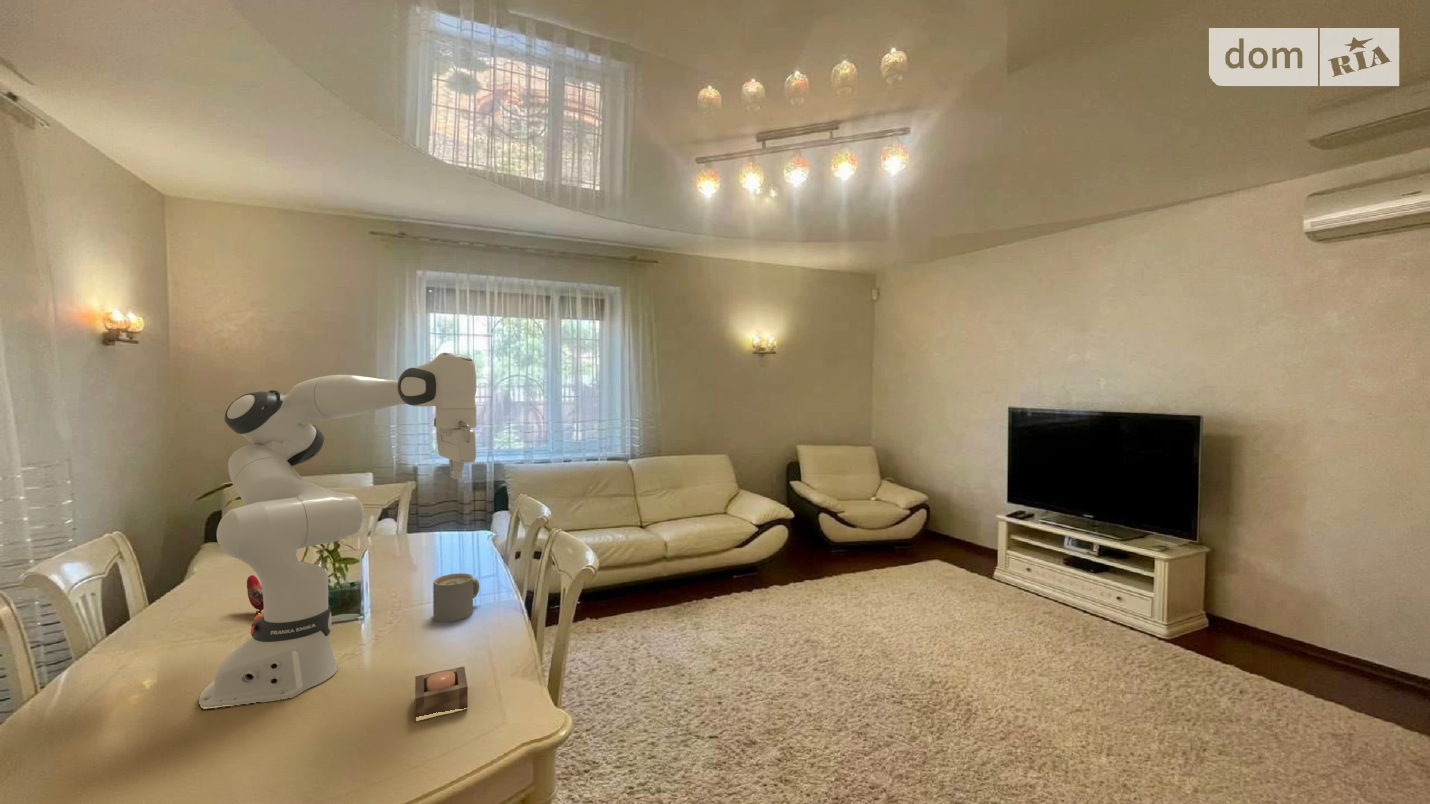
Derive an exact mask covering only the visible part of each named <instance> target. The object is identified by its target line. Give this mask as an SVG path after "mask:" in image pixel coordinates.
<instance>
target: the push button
mask: <svg viewBox="0 0 1430 804" xmlns="http://www.w3.org/2000/svg"><path fill="white" fill-rule="evenodd" d="M442 671H443V672H439V671H437V672H438V673H435V674H433V675H431V676H430V677H428V679H427V692H429V691H433V690H438V689H442V688H447V687H451V686H455V673H454V672H451V671H444V670H442Z"/></svg>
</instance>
